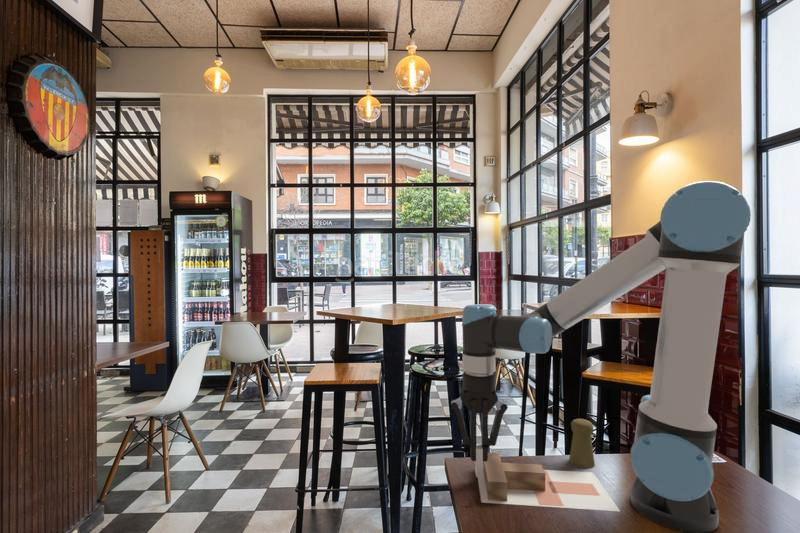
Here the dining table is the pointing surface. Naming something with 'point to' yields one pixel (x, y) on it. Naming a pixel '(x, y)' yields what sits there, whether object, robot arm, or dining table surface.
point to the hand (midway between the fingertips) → (479, 474)
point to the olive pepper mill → (582, 444)
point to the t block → (510, 477)
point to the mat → (560, 492)
